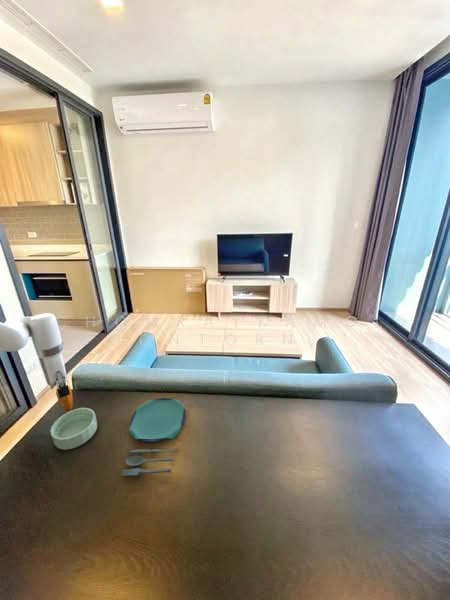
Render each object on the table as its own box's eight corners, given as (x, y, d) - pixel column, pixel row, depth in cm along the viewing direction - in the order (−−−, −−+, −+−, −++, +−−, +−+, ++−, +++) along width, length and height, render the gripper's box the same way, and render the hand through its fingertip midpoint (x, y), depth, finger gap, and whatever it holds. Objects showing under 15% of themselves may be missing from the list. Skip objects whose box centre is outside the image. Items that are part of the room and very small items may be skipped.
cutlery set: (189, 401, 101) (188, 396, 100) (177, 476, 73) (177, 470, 72) (139, 402, 100) (139, 397, 100) (109, 478, 72) (107, 472, 71)
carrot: (73, 404, 99) (64, 373, 94) (79, 410, 97) (70, 378, 91) (59, 412, 96) (49, 380, 90) (65, 418, 93) (55, 386, 88)
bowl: (57, 458, 78) (53, 447, 76) (51, 431, 88) (48, 420, 86) (102, 435, 86) (99, 424, 84) (92, 412, 95) (89, 402, 94)
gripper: (35, 342, 90) (47, 381, 96) (40, 364, 78) (54, 407, 84) (59, 336, 95) (69, 373, 101) (67, 355, 82) (79, 396, 88)
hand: (62, 388), depth 92 cm, fingers open, 9 cm apart
